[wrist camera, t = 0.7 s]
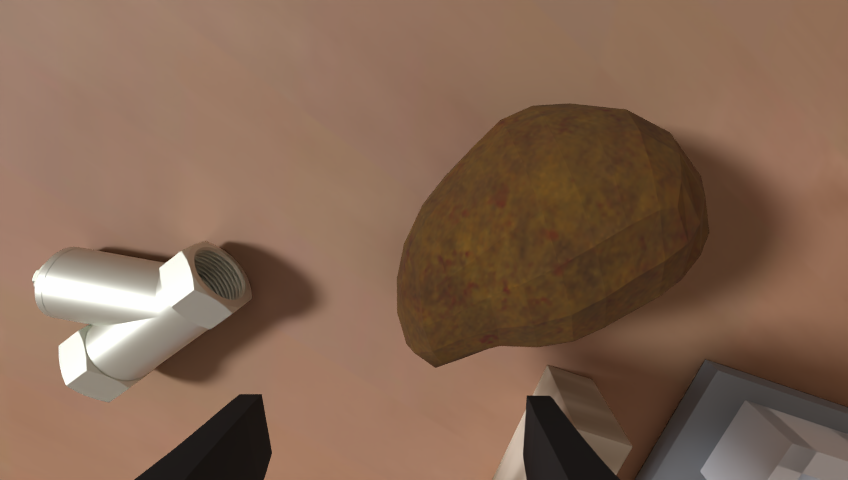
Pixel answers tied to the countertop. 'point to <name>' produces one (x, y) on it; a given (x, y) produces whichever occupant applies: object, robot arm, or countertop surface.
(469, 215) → the potato
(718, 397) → the board
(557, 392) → the slat
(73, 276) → the pipe fitting
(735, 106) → the countertop surface
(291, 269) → the countertop surface
